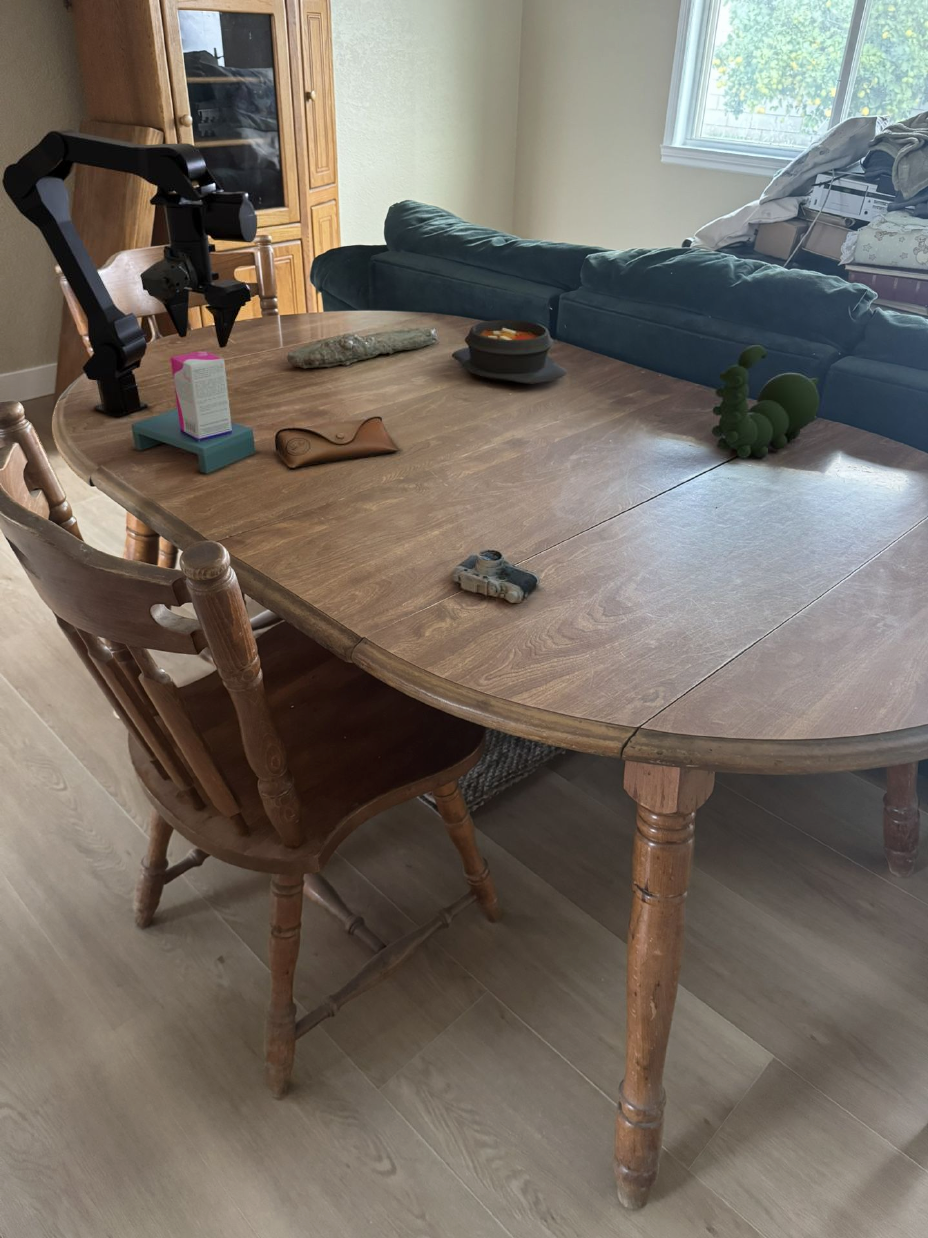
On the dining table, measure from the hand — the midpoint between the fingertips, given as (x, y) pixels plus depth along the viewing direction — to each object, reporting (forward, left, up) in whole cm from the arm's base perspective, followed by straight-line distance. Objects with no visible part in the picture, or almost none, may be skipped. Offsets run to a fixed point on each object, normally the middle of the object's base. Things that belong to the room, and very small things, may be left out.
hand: (202, 341), depth 146 cm
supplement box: (+12, -12, -9) cm, 19 cm away
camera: (+68, -18, -13) cm, 72 cm away
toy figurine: (+79, +45, -13) cm, 92 cm away
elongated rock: (-3, +44, -13) cm, 46 cm away
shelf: (+8, -11, -13) cm, 19 cm away
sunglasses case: (+26, +2, -13) cm, 29 cm away
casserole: (+26, +52, -13) cm, 60 cm away
